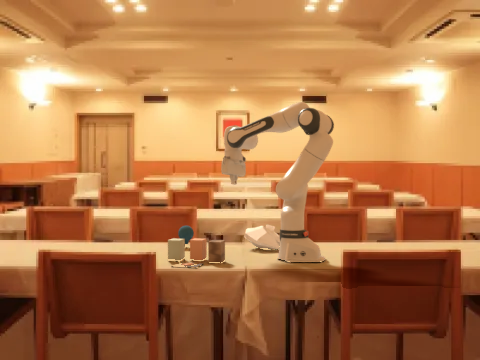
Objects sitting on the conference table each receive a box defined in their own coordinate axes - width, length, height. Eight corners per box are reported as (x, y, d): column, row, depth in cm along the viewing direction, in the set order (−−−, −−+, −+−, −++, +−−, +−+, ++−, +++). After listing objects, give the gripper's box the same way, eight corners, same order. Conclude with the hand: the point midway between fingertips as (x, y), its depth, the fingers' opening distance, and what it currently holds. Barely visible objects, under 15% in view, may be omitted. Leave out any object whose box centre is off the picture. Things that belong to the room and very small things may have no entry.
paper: (276, 253, 273) (275, 229, 273) (234, 250, 286) (234, 226, 285) (297, 247, 294) (297, 224, 294) (257, 243, 307) (257, 221, 306)
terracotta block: (206, 259, 258) (206, 238, 257) (202, 261, 252) (202, 240, 252) (194, 259, 259) (194, 238, 259) (190, 261, 254) (189, 239, 253)
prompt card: (203, 264, 245) (203, 262, 245) (196, 268, 236) (196, 266, 236) (179, 263, 248) (178, 261, 248) (171, 267, 240) (171, 265, 240)
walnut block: (225, 261, 252) (224, 240, 252) (221, 264, 246) (220, 242, 246) (212, 261, 254) (212, 239, 253) (208, 263, 248) (208, 241, 248)
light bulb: (186, 249, 288) (186, 226, 288) (175, 247, 293) (174, 225, 293) (197, 247, 295) (196, 225, 294) (185, 246, 300) (185, 224, 299)
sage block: (184, 259, 258) (184, 238, 257) (179, 262, 252) (179, 240, 252) (173, 259, 259) (172, 238, 259) (167, 261, 254) (167, 240, 253)
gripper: (228, 154, 269) (229, 182, 267) (247, 158, 287) (248, 185, 285) (217, 156, 272) (218, 183, 270) (236, 160, 290) (237, 185, 288)
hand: (234, 184), depth 278 cm, fingers closed
